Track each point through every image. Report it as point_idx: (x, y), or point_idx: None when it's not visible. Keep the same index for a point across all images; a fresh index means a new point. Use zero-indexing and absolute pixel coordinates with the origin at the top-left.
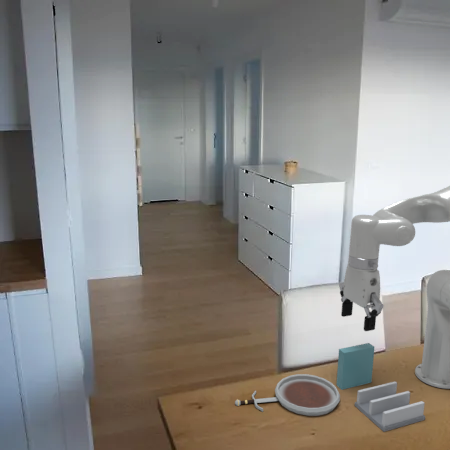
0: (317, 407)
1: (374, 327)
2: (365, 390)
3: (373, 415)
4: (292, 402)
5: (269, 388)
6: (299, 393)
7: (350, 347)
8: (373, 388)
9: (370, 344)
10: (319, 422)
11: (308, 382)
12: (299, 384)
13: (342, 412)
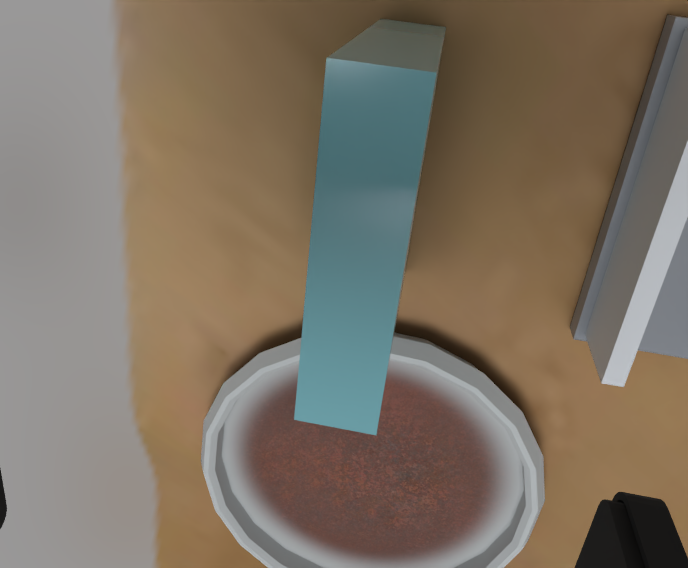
0: (483, 505)
1: (667, 531)
2: (637, 343)
3: None
4: (385, 553)
5: (224, 530)
6: (340, 491)
7: (318, 318)
8: (659, 278)
9: (369, 74)
10: (557, 537)
11: (275, 399)
12: (271, 444)
13: (570, 415)
